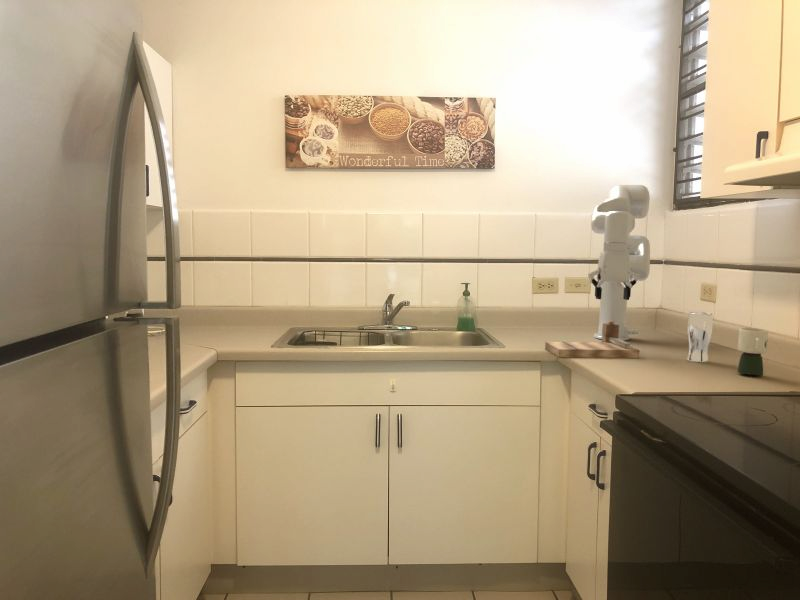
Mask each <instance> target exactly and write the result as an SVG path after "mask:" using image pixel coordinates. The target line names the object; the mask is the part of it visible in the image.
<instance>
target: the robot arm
mask: <svg viewBox="0 0 800 600" xmlns="http://www.w3.org/2000/svg"><path fill="white" fill-rule="evenodd" d="M650 197H651V196H650V190H649V189H648V187H646V186H645V185H643V184H619V185H615V186H614V187H612V188H610V190H609V192H608V196H607V198H606V199H604V200H603V201H602V202H601V203H600V204H597V205H596V206H595V207H594V210H593V211H592V216H591V220H590V221H591V222H590V223H591V224H590V225H591V230H592V231H593V232H594V233H595V234H598V235H599V234H600V235H603V251H602V252H600V255H599V258H598V263H597V267H596V269H595V270H593V271H592V272H589V273H588V274H587V277H588V278H589V280H590V283H591V284H592V285H593V287H594V297H595V299H596V300H599V302H600V303H599V316H598V317H599V319H598V332H596V333H594V334H593V337H594V338H595V339H599V340H602V327H603V323H609V321H614V323H613V324H618V325H619V337H618V339H620V340H623V341H629V340H630V336H629V335H638V334H639V330H638V328H633V329H632V328H629V327H628V326H627V310H628V309H627V308H628V306H627V305H628V301H629V300H630V298H631V291H632V290H631V289H632V288H633V286H634V285H636V284H637V282H643V281H645V280H647V278H649V275H650V271H651V270H650V269H651V244H650V240H649V239H648V237H647V236H645V235H633V234H632V235H631V232H633V230H634V229H635V227H636V219H644V218H646V217H647V216H648V213H649V209H650V199H651V198H650ZM595 276H596V279H595Z"/></svg>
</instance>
